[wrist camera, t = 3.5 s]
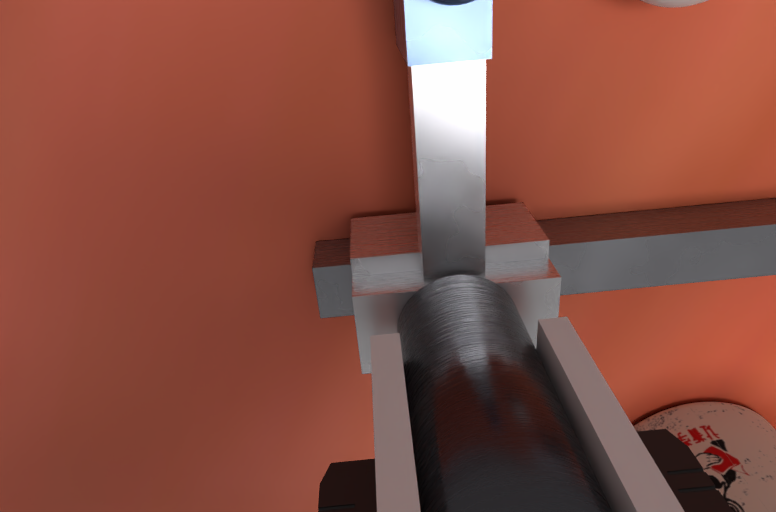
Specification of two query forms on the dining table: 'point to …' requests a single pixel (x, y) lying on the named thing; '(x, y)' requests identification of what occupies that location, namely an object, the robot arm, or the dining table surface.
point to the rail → (617, 250)
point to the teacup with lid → (727, 449)
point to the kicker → (466, 294)
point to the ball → (673, 2)
